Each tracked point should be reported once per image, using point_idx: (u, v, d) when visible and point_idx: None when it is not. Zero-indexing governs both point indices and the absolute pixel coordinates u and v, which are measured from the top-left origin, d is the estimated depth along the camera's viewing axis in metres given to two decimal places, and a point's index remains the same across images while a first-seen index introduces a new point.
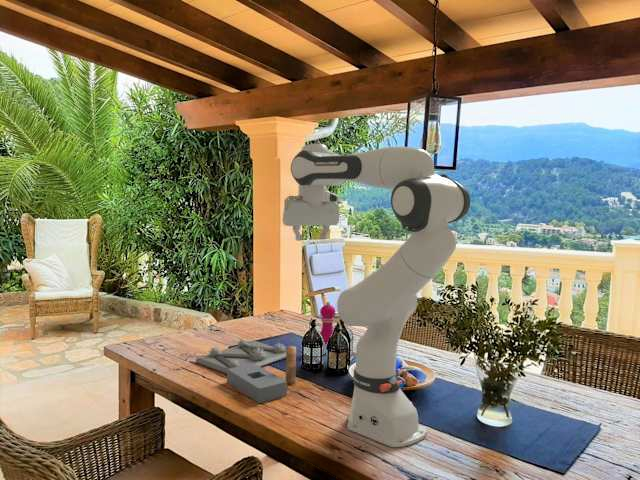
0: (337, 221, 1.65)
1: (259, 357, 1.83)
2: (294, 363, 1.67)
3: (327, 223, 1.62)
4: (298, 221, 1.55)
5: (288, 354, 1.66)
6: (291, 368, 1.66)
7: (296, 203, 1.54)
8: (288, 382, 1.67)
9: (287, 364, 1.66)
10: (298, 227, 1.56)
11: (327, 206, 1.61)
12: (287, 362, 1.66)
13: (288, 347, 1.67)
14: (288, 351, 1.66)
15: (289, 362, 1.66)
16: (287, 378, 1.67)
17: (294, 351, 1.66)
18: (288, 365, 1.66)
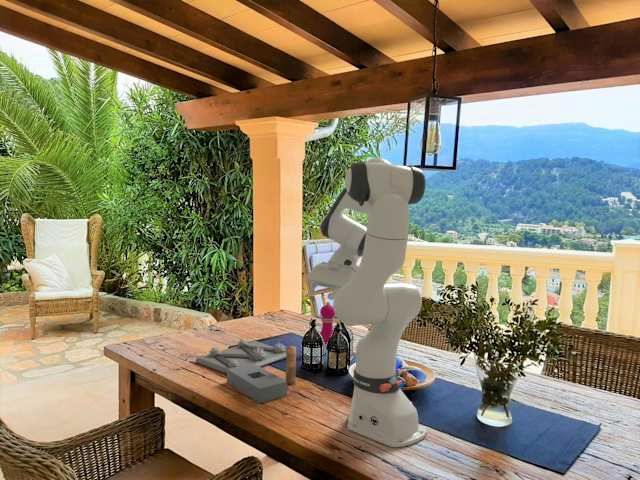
0: (345, 283, 1.69)
1: (259, 357, 1.83)
2: (294, 363, 1.67)
3: (335, 283, 1.71)
4: (313, 276, 1.80)
5: (288, 354, 1.66)
6: (291, 368, 1.66)
7: (320, 264, 1.83)
8: (288, 382, 1.67)
9: (287, 364, 1.66)
10: (313, 282, 1.79)
11: (342, 269, 1.74)
12: (287, 362, 1.66)
13: (288, 347, 1.67)
14: (288, 351, 1.66)
15: (289, 362, 1.66)
16: (287, 378, 1.67)
17: (294, 351, 1.66)
18: (288, 365, 1.66)
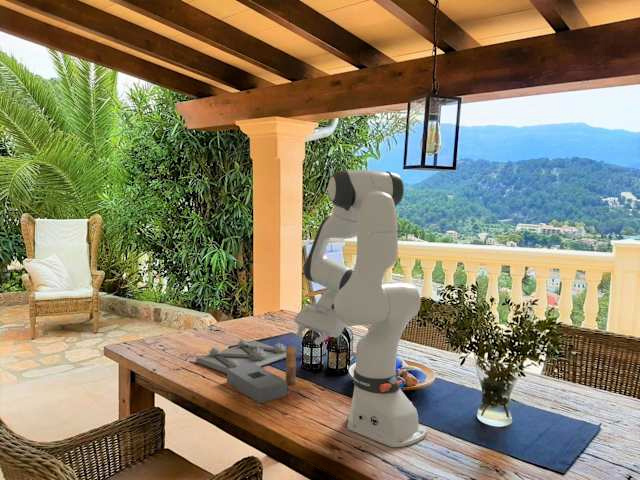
0: (332, 329, 1.66)
1: (259, 357, 1.83)
2: (294, 363, 1.67)
3: (322, 328, 1.69)
4: (301, 319, 1.78)
5: (288, 354, 1.66)
6: (291, 368, 1.66)
7: (308, 306, 1.80)
8: (288, 382, 1.67)
9: (287, 364, 1.66)
10: (300, 325, 1.77)
11: (329, 313, 1.72)
12: (287, 362, 1.66)
13: (288, 347, 1.67)
14: (288, 351, 1.66)
15: (289, 362, 1.66)
16: (287, 378, 1.67)
17: (294, 351, 1.66)
18: (288, 365, 1.66)
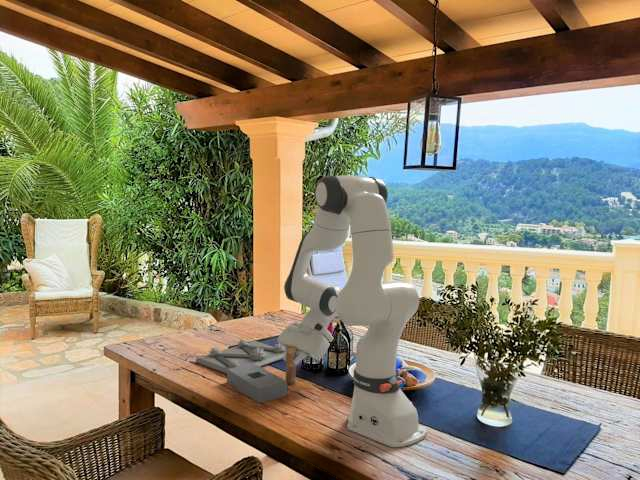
0: (315, 350, 1.62)
1: (259, 357, 1.83)
2: None
3: (305, 349, 1.65)
4: (284, 339, 1.73)
5: (288, 354, 1.66)
6: (291, 368, 1.66)
7: (291, 326, 1.76)
8: (288, 382, 1.67)
9: (287, 364, 1.66)
10: None
11: (312, 334, 1.67)
12: (287, 362, 1.66)
13: (288, 347, 1.67)
14: (288, 351, 1.66)
15: (289, 362, 1.66)
16: (287, 378, 1.67)
17: (294, 351, 1.66)
18: (288, 365, 1.66)
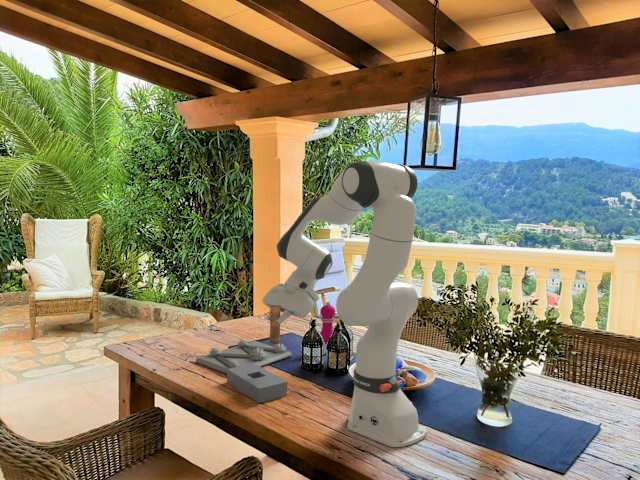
0: (299, 308, 1.58)
1: (259, 357, 1.83)
2: None
3: (289, 308, 1.60)
4: (268, 299, 1.69)
5: (272, 313, 1.62)
6: (275, 328, 1.62)
7: (277, 286, 1.72)
8: (272, 342, 1.63)
9: (271, 323, 1.62)
10: None
11: (297, 293, 1.63)
12: (271, 321, 1.62)
13: (272, 306, 1.63)
14: (272, 310, 1.62)
15: (273, 321, 1.62)
16: (271, 338, 1.63)
17: (278, 310, 1.62)
18: (272, 324, 1.62)
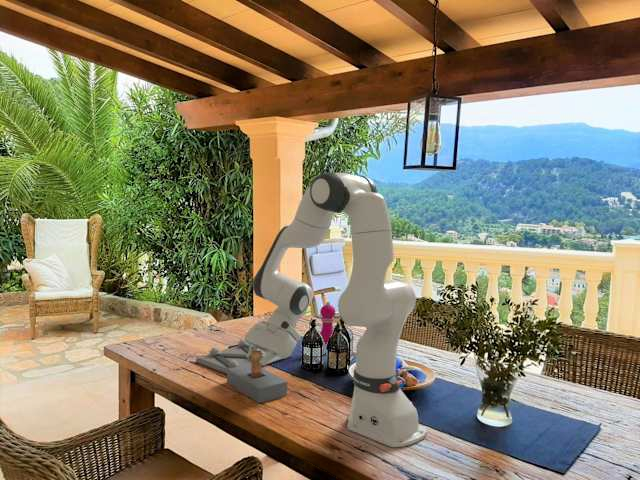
0: (280, 349, 1.56)
1: None
2: (260, 368, 1.61)
3: (271, 348, 1.58)
4: (250, 338, 1.67)
5: (253, 359, 1.60)
6: (256, 374, 1.60)
7: (259, 324, 1.70)
8: None
9: (252, 370, 1.60)
10: (252, 345, 1.65)
11: (278, 332, 1.61)
12: (252, 367, 1.60)
13: (253, 352, 1.61)
14: (253, 356, 1.60)
15: (254, 367, 1.60)
16: None
17: (259, 356, 1.60)
18: (253, 370, 1.60)
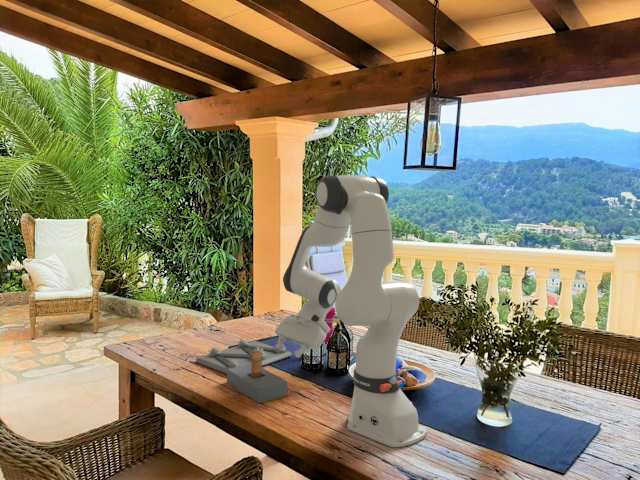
0: (311, 341, 1.65)
1: None
2: (260, 369, 1.61)
3: (302, 340, 1.67)
4: (281, 330, 1.76)
5: (253, 359, 1.60)
6: (256, 374, 1.60)
7: (289, 317, 1.79)
8: None
9: (252, 370, 1.60)
10: (281, 336, 1.75)
11: (309, 325, 1.70)
12: (252, 368, 1.60)
13: (254, 352, 1.61)
14: (253, 356, 1.60)
15: (254, 367, 1.60)
16: None
17: (260, 356, 1.60)
18: (253, 370, 1.60)
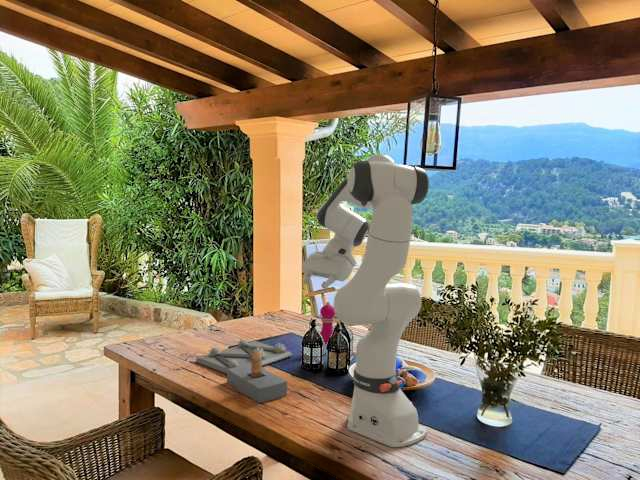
0: (339, 272, 1.68)
1: None
2: (260, 369, 1.61)
3: (330, 272, 1.71)
4: (308, 266, 1.79)
5: (253, 359, 1.60)
6: (256, 374, 1.60)
7: (315, 254, 1.82)
8: None
9: (252, 370, 1.60)
10: (307, 271, 1.78)
11: (336, 258, 1.73)
12: (252, 368, 1.60)
13: (254, 352, 1.61)
14: (253, 356, 1.60)
15: (254, 367, 1.60)
16: None
17: (260, 356, 1.60)
18: (253, 370, 1.60)
